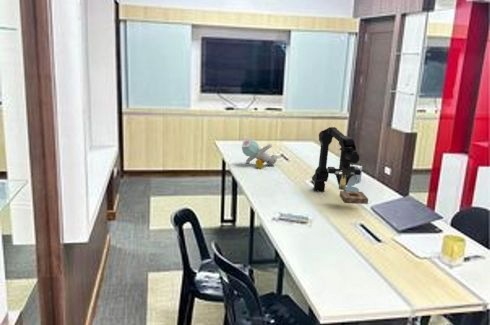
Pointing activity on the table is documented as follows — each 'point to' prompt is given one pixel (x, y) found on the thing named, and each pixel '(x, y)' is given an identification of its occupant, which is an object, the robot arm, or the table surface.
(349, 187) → the pocket watch
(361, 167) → the light bulb box
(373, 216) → the table surface
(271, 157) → the toy
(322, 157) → the robot arm
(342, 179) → the gold cylinder
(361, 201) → the jig block
